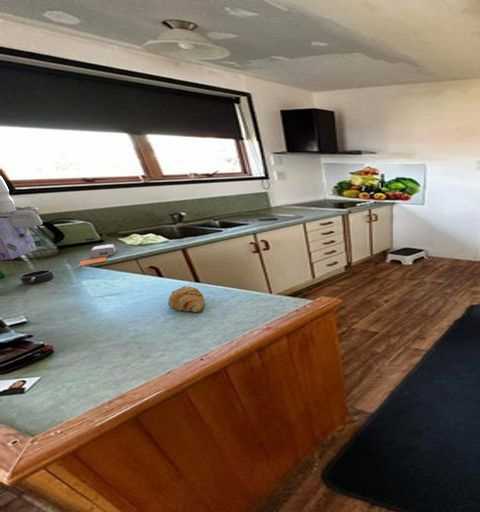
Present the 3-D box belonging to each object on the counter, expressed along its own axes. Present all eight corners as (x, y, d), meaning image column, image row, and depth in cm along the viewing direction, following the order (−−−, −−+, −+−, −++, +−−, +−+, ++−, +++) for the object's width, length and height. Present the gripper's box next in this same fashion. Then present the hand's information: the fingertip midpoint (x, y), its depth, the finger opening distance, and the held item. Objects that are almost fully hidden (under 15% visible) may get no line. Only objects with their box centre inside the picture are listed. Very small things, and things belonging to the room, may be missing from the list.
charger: (117, 249, 170) (115, 254, 159) (96, 252, 164) (93, 258, 153) (114, 241, 168) (112, 246, 157) (93, 244, 163) (90, 250, 152)
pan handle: (29, 284, 114) (27, 281, 114) (32, 279, 119) (31, 276, 118) (33, 283, 115) (32, 280, 114) (36, 278, 120) (35, 276, 119)
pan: (21, 286, 117) (17, 279, 116) (25, 280, 124) (22, 273, 122) (52, 280, 123) (49, 273, 122) (55, 275, 129) (52, 268, 128)
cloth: (79, 266, 141) (79, 265, 141) (81, 261, 148) (80, 261, 148) (106, 261, 147) (106, 260, 147) (106, 257, 154) (106, 256, 154)
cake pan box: (25, 250, 134) (9, 214, 128) (40, 249, 136) (24, 213, 130) (-5, 262, 117) (-25, 221, 112) (12, 260, 119) (-7, 220, 114)
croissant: (211, 318, 96) (218, 296, 97) (179, 318, 88) (187, 294, 88) (185, 301, 107) (192, 282, 108) (155, 300, 99) (162, 279, 100)
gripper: (37, 205, 130) (49, 233, 134) (-37, 210, 116) (-22, 241, 121) (35, 206, 125) (47, 235, 130) (-43, 211, 112) (-27, 243, 116)
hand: (13, 238), depth 125 cm, fingers closed on cake pan box, 5 cm apart
